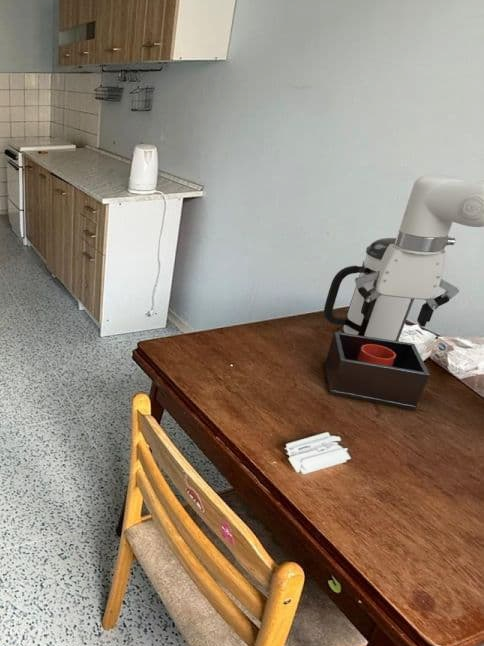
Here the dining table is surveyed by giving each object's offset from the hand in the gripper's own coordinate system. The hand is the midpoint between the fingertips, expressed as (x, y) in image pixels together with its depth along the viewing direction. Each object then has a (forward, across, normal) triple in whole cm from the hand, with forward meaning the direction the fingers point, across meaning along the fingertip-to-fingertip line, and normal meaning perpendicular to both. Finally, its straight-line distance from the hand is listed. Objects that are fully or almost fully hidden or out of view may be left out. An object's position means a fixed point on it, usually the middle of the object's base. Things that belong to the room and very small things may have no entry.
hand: (392, 320), depth 99 cm
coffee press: (+17, -1, -22) cm, 28 cm away
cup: (+16, +1, 0) cm, 16 cm away
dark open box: (+17, +1, 0) cm, 17 cm away
